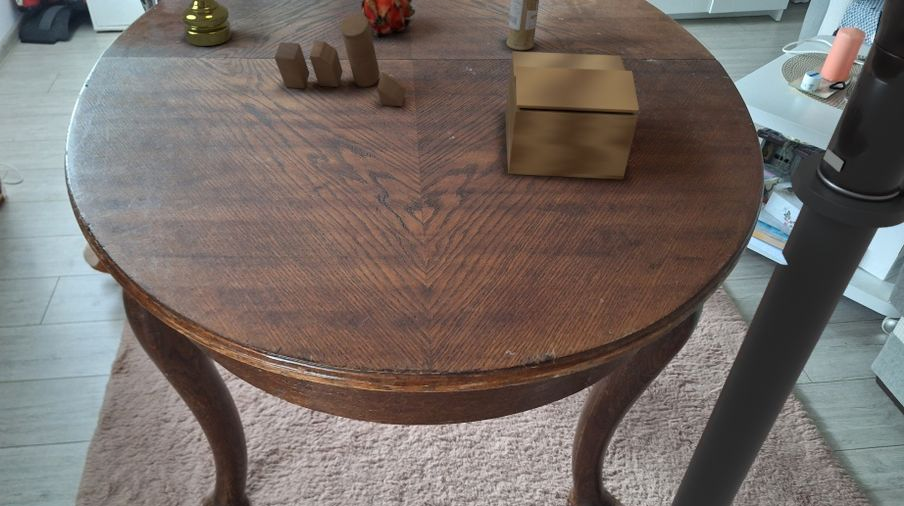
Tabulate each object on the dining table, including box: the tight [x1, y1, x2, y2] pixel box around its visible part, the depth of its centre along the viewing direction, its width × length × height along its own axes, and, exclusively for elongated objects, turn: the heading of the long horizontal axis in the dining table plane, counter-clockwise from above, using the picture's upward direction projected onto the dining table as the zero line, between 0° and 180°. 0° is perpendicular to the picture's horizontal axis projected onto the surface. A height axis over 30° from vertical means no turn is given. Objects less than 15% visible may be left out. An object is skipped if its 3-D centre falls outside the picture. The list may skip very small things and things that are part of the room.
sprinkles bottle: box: [506, 0, 540, 51], centre depth 116 cm, size 5×5×13 cm
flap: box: [516, 66, 640, 114], centre depth 87 cm, size 14×7×1 cm, turn 85°
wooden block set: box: [274, 12, 407, 107], centre depth 104 cm, size 18×9×10 cm, turn 76°
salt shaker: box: [180, 0, 232, 47], centre depth 118 cm, size 7×7×10 cm
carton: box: [504, 50, 639, 180], centre depth 93 cm, size 14×15×9 cm
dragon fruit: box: [360, 0, 416, 37], centre depth 122 cm, size 8×8×12 cm
